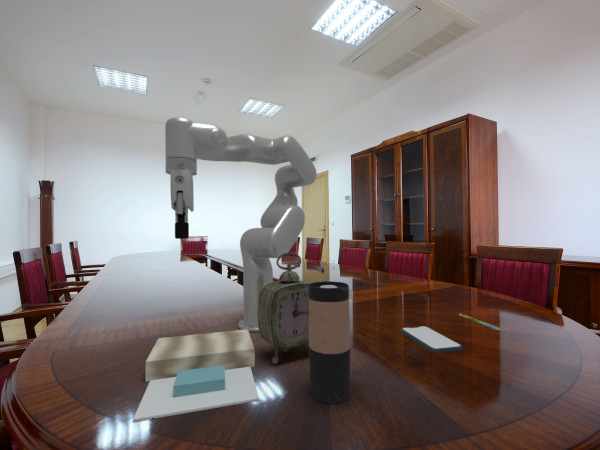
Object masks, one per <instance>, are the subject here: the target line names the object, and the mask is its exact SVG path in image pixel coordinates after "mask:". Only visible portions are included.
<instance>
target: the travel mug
mask: <svg viewBox="0 0 600 450" xmlns="http://www.w3.org/2000/svg"><path fill="white" fill-rule="evenodd" d="M310 283H311V284H309V344H308V356H309V357H308V359H309V376H310V378H309V379H310V391H311V392H310V394H311V396H312V398H313V399H314V400H316V401H317V402H320V403H323V404H329V405H335V404H336V405H337V404H341V403H344V402H345V401H347V400H348V399H349V397H350V391H351V390H350V388H351V387H350V385H351V327H350V326H351V321H350V318H351V317H350V287H349V284H348V283H346V282H341V281H330V280H329V281H315V282H310Z"/></svg>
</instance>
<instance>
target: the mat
mask: <svg viewBox="0 0 600 450" xmlns="http://www.w3.org/2000/svg"><path fill="white" fill-rule="evenodd" d="M175 379H176V377H171V378H164V379H156V380H150V381H148V384H147V387H146V390H145V391H144V394H143V396H142V399H141V401H140V402H139V406H137V409H136V412H135V414H134V416H133V418H132V423H135V421H137V422H142V420H143V421H148V420H147V419H149V420H153V419H152V418H154V419H159V418H166V417H172V416H177V415H184V414H189V413H194V412H200V411H205V410H212V409H216V408H224V407H229V406H233V405H234V406H235V405H242V404H247V403H254V402H258V401H260V398H259V394H258V389H257V386H256V382H255V378H254V375H253V372H252V367H243V368H236V369H229V370H225V390H220V391H213V392H207V393H200V394H193V395H187V396H180V397H173V386H174V383H175ZM140 420H141V421H140Z"/></svg>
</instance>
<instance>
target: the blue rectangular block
mask: <svg viewBox="0 0 600 450" xmlns="http://www.w3.org/2000/svg"><path fill="white" fill-rule="evenodd" d="M220 390H225V366H224V365H222V366H214V367H206V368H199V369H191V370H183V371H178V373H177V376H176V379H175V383H174V386H173V397H180V396H187V395H193V394H200V393H207V392H213V391H220Z"/></svg>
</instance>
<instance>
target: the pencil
mask: <svg viewBox="0 0 600 450" xmlns="http://www.w3.org/2000/svg"><path fill="white" fill-rule="evenodd" d="M458 316H459V317H461V318H463V319H466V320H469V321H472V322H475V323H477V324H481V325H482V326H485V327H488V328H490V329H493V330H496V331H499V332H503V333H505V332H506V331H505V330H504V329H502V328H501V327H498V326H496V325H494V324H490V323H487V322H485V321H483V320H479V319H476V318H473V317H471V316H468V315H465V314H463V313H459V314H458Z"/></svg>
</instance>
